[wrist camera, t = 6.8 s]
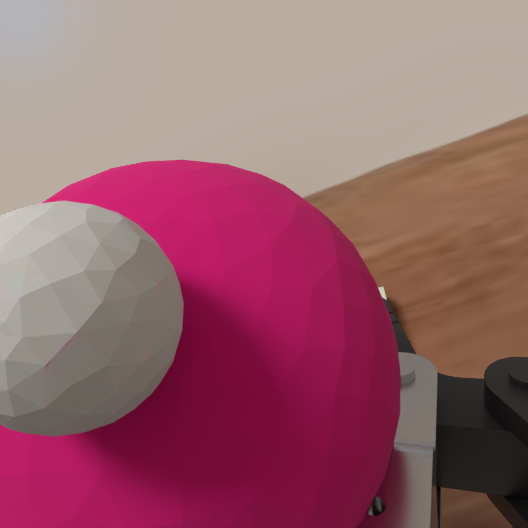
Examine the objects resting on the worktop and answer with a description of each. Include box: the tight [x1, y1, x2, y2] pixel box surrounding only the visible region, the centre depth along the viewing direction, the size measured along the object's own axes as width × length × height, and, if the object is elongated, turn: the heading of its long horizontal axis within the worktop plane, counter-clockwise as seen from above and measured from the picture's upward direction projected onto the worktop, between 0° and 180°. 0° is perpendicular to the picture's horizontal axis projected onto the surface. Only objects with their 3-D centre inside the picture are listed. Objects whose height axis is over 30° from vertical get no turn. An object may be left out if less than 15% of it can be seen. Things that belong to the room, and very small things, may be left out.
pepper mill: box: [0, 160, 400, 528], centre depth 12 cm, size 7×7×20 cm
